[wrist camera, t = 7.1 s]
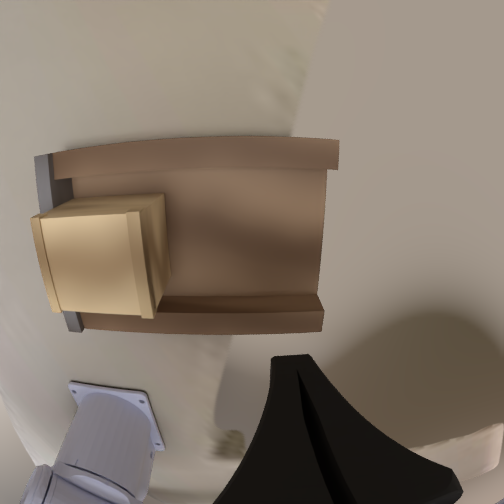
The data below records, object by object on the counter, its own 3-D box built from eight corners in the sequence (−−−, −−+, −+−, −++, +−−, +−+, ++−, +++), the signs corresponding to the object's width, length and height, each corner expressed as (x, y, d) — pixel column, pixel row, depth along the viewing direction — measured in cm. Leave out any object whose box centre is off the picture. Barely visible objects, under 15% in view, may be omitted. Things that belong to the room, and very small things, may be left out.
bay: (311, 306, 21) (323, 336, 18) (88, 304, 20) (69, 331, 17) (323, 138, 17) (342, 140, 14) (64, 150, 16) (34, 156, 13)
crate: (171, 276, 18) (153, 318, 14) (85, 275, 18) (52, 312, 14) (164, 191, 16) (139, 211, 12) (72, 197, 16) (30, 218, 12)
